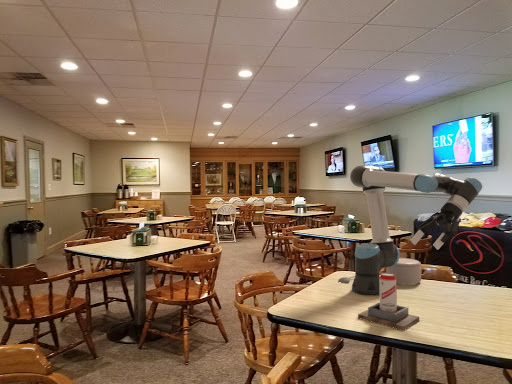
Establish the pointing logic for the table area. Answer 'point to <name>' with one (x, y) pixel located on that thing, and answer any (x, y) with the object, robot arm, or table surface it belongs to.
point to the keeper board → (400, 324)
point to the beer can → (388, 292)
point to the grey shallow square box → (388, 313)
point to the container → (406, 271)
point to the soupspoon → (344, 279)
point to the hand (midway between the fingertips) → (423, 245)
